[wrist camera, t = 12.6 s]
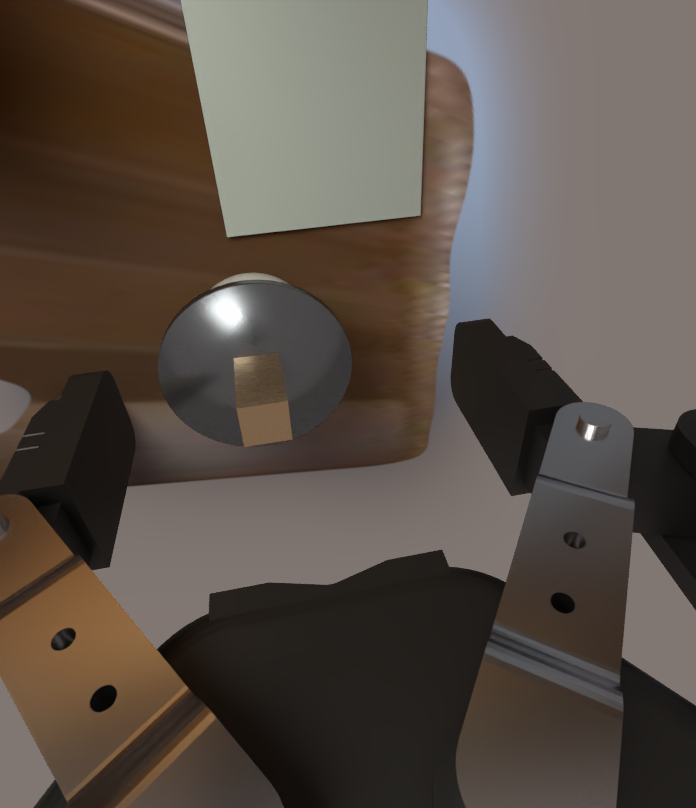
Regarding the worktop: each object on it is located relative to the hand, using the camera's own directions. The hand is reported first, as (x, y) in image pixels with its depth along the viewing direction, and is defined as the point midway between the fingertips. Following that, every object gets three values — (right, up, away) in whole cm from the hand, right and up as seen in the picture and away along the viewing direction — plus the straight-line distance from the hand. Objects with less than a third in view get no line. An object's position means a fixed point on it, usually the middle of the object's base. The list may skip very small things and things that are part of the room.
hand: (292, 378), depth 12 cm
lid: (-5, +2, +26) cm, 27 cm away
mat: (-1, +20, +25) cm, 33 cm away
